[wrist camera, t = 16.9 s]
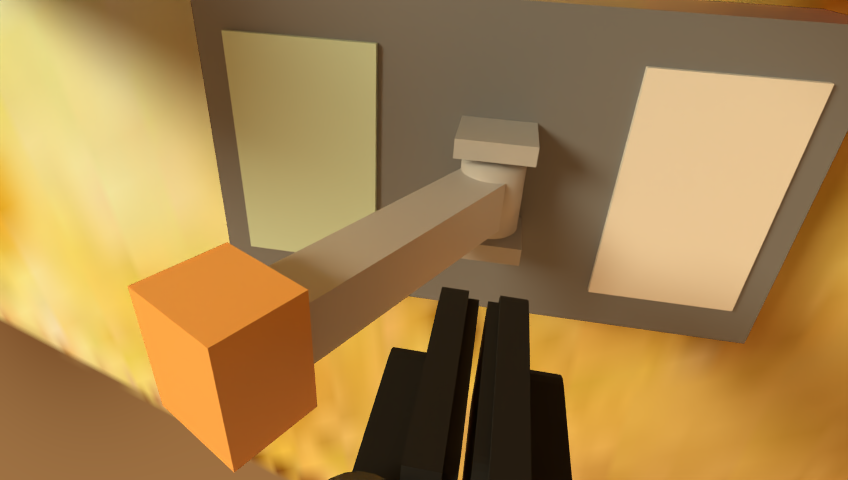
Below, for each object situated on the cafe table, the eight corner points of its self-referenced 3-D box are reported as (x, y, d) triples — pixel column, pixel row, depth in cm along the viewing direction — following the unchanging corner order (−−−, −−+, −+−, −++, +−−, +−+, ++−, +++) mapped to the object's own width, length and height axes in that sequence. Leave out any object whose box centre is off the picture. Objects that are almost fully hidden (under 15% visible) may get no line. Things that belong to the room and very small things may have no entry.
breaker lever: (480, 130, 17) (127, 286, 9) (546, 150, 16) (208, 348, 8) (471, 211, 19) (162, 405, 11) (531, 235, 18) (234, 472, 10)
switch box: (245, -34, 19) (142, -20, 14) (823, 8, 17) (955, 43, 12) (273, 225, 25) (207, 303, 20) (711, 282, 23) (767, 387, 18)
